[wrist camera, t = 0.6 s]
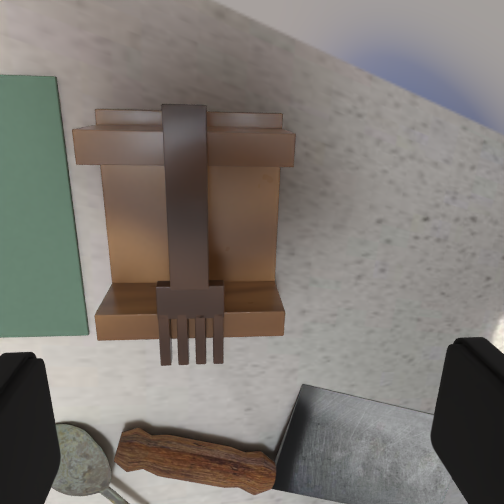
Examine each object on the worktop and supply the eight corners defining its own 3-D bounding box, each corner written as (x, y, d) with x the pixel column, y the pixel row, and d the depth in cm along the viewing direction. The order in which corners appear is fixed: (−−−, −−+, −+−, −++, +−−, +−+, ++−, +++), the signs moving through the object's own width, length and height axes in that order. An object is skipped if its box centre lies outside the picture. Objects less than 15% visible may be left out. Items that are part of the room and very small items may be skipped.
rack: (97, 108, 29) (69, 110, 23) (281, 113, 30) (297, 116, 24) (117, 311, 34) (98, 353, 29) (272, 308, 35) (283, 348, 30)
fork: (146, 103, 23) (142, 103, 22) (224, 105, 24) (224, 105, 22) (161, 357, 29) (159, 371, 28) (223, 355, 30) (224, 369, 28)
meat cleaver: (472, 422, 42) (497, 454, 38) (423, 501, 45) (442, 538, 42) (146, 346, 36) (138, 375, 32) (118, 444, 39) (107, 480, 36)
